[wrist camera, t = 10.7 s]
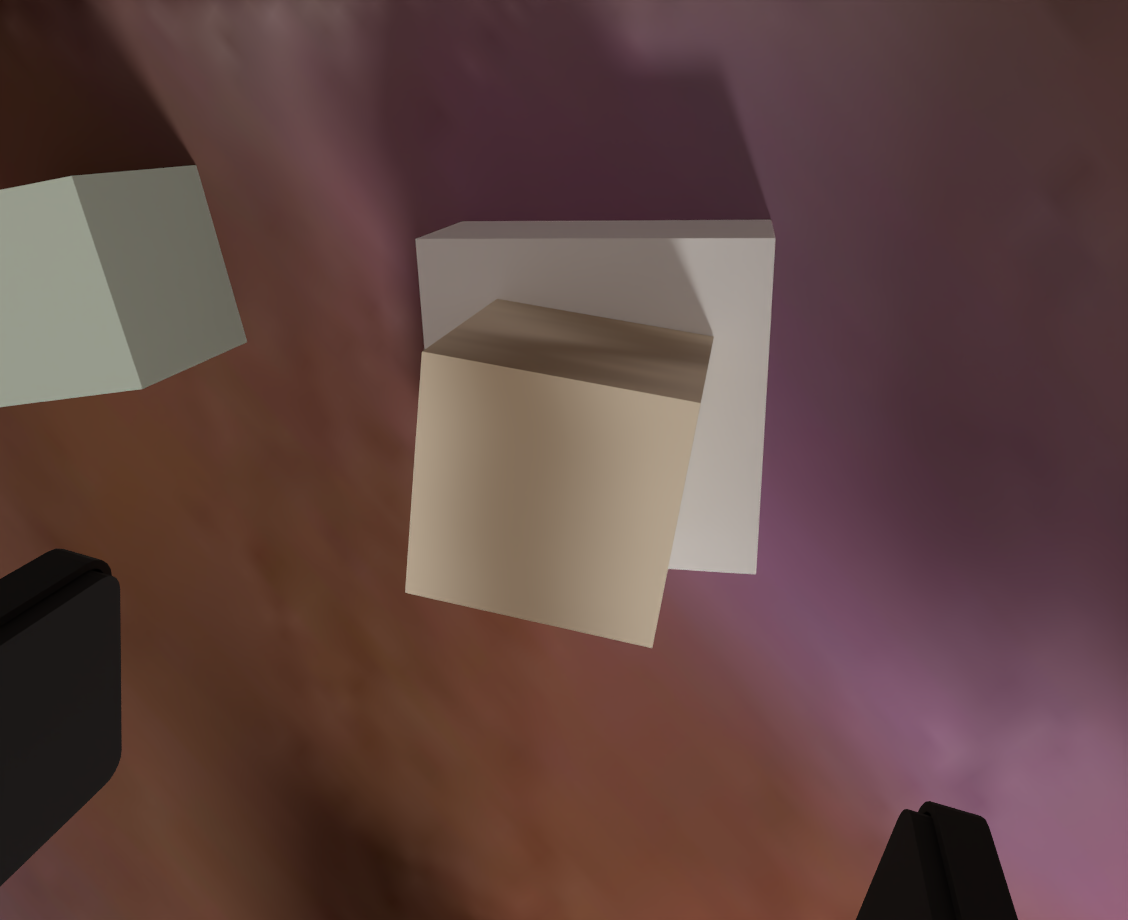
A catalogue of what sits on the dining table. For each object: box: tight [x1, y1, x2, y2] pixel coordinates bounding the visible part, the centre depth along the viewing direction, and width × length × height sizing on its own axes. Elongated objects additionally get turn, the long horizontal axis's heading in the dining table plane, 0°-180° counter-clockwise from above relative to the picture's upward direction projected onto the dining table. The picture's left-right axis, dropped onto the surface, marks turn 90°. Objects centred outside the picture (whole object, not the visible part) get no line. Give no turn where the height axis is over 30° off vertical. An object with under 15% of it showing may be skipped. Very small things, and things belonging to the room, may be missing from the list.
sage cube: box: [0, 165, 247, 407], centre depth 24 cm, size 5×5×5 cm
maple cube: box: [405, 299, 714, 648], centre depth 19 cm, size 5×5×5 cm
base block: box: [415, 220, 776, 574], centre depth 23 cm, size 8×8×4 cm
